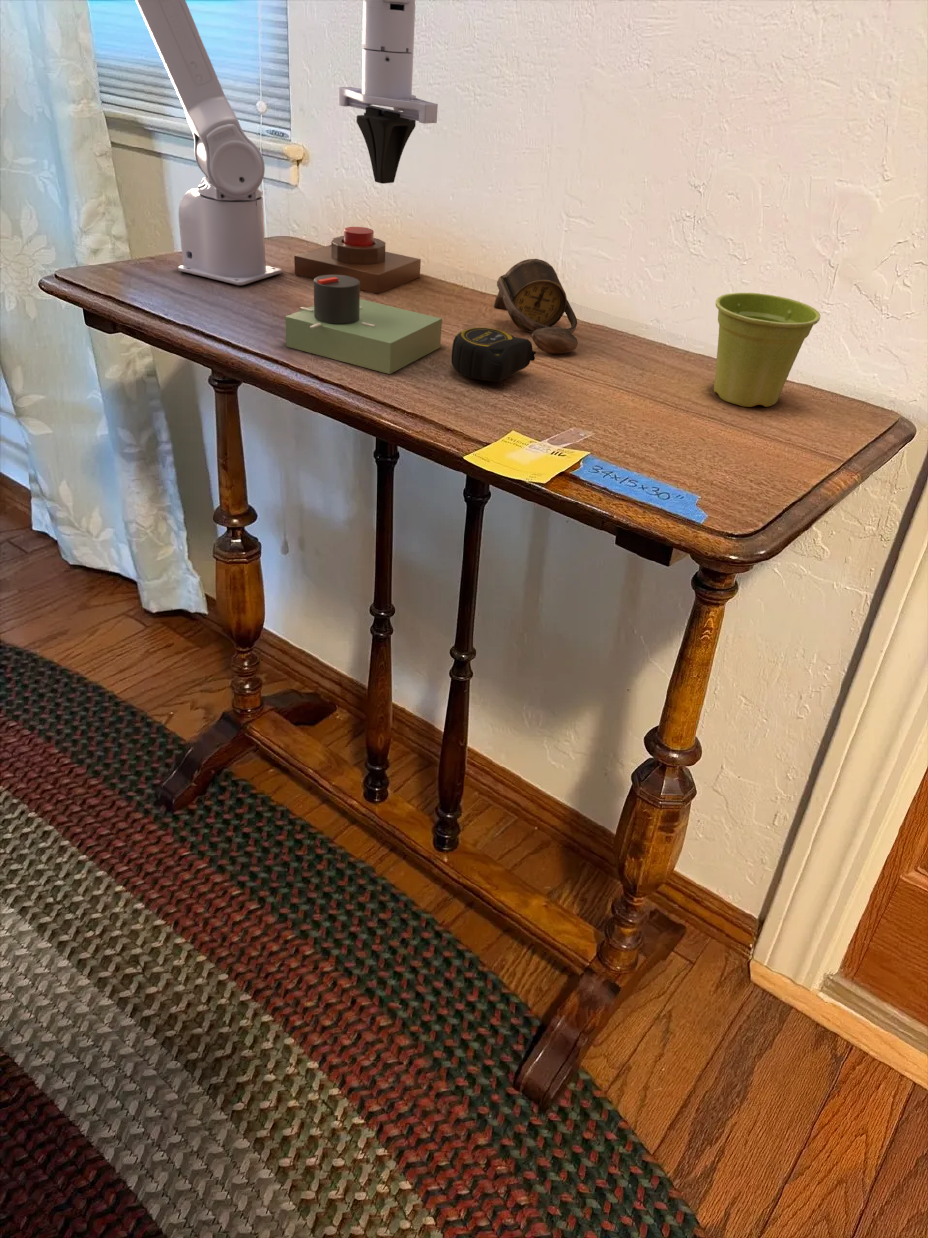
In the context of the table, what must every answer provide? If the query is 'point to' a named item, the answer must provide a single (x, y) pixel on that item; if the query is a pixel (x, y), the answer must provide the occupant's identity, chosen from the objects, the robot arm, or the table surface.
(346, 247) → the button block
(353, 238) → the red button
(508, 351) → the tape measure
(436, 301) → the table surface
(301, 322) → the dial panel
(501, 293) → the antique clock
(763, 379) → the plant pot
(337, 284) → the dial knob
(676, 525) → the table surface
